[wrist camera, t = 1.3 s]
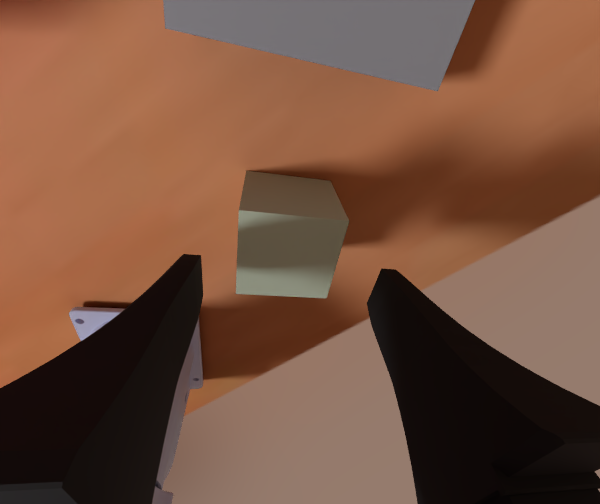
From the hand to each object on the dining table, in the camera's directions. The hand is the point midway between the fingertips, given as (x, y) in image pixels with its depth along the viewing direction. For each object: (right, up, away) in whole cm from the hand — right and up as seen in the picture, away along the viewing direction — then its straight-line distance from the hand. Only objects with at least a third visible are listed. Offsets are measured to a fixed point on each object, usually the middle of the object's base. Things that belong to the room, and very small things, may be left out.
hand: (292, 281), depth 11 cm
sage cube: (-1, +3, +5) cm, 6 cm away
